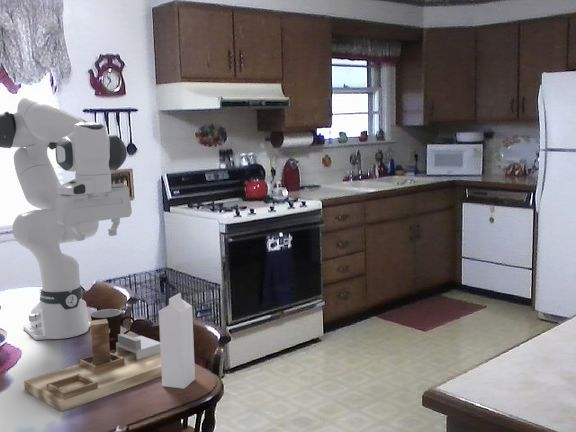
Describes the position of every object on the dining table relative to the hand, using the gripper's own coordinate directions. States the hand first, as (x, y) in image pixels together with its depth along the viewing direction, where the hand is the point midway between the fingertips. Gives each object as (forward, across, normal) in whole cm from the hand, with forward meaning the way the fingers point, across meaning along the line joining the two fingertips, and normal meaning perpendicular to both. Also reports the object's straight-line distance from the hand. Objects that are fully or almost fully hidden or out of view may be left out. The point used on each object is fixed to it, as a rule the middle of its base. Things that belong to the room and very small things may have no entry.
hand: (96, 237), depth 165 cm
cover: (+31, -7, +7) cm, 33 cm away
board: (+34, +6, +11) cm, 36 cm away
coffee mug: (+34, -8, -9) cm, 36 cm away
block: (+31, +5, +7) cm, 32 cm away
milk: (+34, -4, +27) cm, 44 cm away
